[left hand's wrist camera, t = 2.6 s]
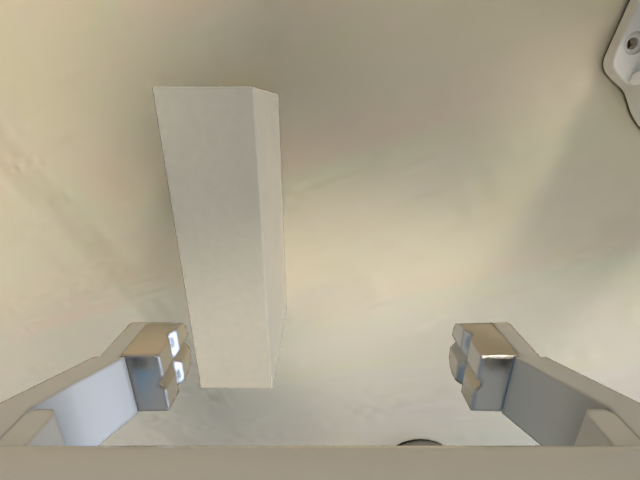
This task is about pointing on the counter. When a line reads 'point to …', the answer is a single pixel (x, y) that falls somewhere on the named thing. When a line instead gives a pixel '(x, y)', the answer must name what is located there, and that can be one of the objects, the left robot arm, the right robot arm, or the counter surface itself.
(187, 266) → the box
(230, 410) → the counter surface
